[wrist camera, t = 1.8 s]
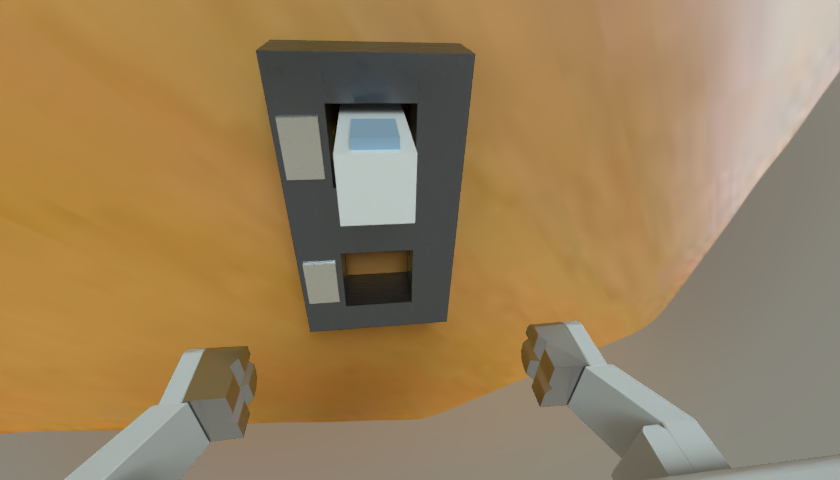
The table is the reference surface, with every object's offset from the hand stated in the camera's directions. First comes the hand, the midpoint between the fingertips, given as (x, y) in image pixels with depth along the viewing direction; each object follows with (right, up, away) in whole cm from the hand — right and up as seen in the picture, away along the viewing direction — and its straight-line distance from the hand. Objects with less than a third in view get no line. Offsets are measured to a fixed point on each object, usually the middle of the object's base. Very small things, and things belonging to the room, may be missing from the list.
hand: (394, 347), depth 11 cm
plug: (-3, +11, +16) cm, 20 cm away
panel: (-3, +7, +19) cm, 21 cm away
